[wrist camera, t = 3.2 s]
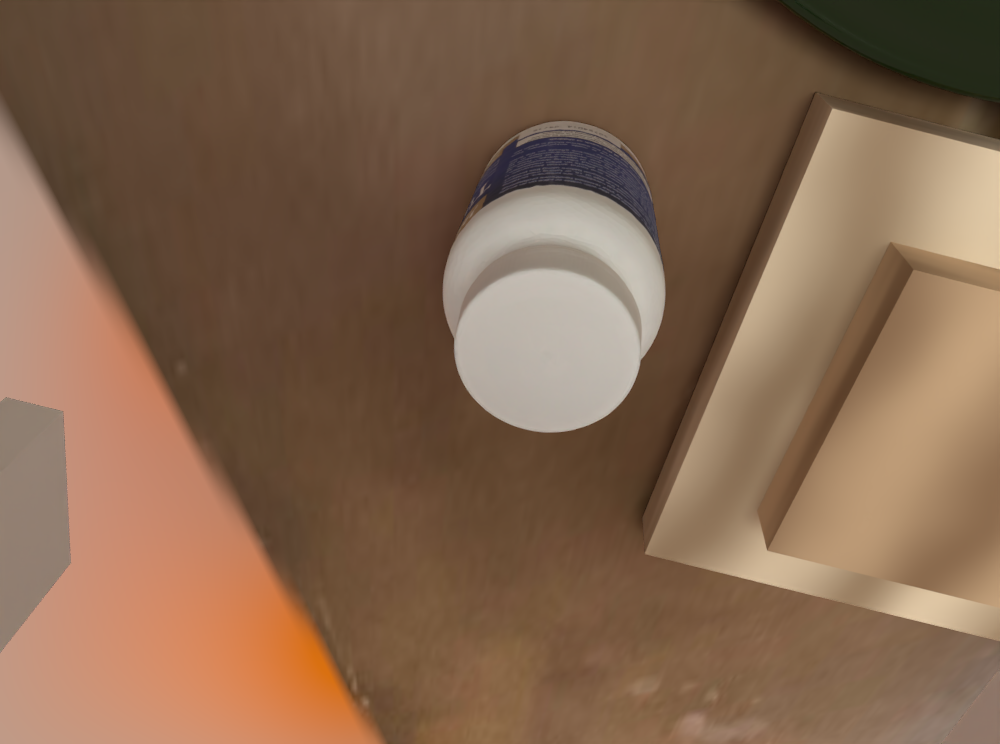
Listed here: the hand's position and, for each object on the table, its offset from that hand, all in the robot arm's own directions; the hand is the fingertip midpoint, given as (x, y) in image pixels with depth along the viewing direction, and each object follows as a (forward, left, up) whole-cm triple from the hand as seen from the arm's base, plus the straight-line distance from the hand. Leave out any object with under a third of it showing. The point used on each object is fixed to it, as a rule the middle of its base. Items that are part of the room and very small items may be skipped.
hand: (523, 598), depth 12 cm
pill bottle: (0, 0, -17) cm, 17 cm away
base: (+14, -3, -17) cm, 22 cm away
